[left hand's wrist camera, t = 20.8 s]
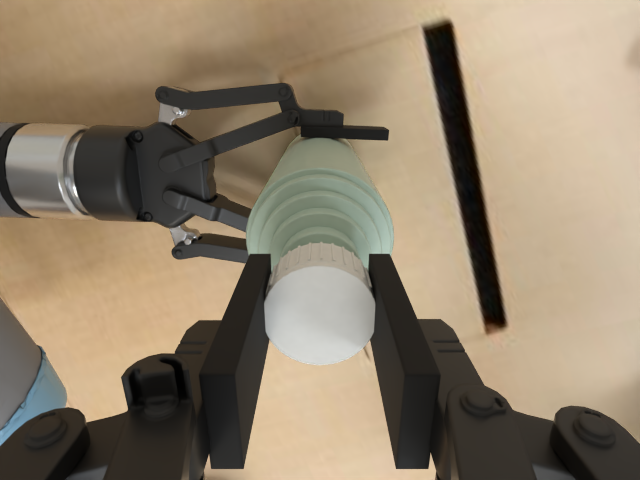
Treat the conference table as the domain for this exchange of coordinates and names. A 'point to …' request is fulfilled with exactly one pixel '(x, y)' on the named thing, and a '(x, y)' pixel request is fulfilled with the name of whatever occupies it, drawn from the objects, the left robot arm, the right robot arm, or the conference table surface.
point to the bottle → (319, 203)
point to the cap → (319, 304)
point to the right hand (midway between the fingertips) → (380, 184)
